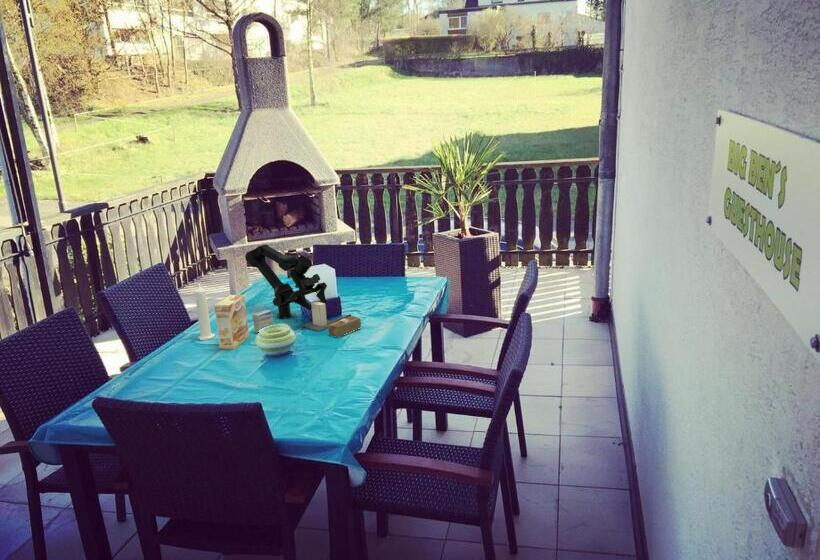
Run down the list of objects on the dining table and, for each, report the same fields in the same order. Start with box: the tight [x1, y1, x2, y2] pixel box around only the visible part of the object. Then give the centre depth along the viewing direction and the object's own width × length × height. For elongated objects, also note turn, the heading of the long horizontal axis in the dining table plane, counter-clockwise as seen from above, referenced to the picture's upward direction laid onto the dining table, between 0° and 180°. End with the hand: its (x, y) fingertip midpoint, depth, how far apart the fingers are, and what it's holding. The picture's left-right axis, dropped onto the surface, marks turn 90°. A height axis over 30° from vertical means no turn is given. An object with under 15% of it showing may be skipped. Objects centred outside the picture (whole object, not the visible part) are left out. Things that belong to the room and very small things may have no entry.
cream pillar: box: [310, 301, 328, 326], centre depth 303 cm, size 6×3×10 cm, turn 50°
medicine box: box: [252, 309, 275, 334], centre depth 300 cm, size 8×4×9 cm, turn 143°
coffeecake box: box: [214, 294, 250, 350], centre depth 285 cm, size 15×7×20 cm, turn 168°
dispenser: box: [327, 313, 362, 338], centre depth 294 cm, size 6×14×6 cm, turn 140°
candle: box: [194, 282, 215, 341], centre depth 293 cm, size 7×7×25 cm
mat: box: [301, 319, 332, 332], centre depth 304 cm, size 12×12×1 cm
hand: (318, 307), depth 302 cm, fingers open, 9 cm apart
